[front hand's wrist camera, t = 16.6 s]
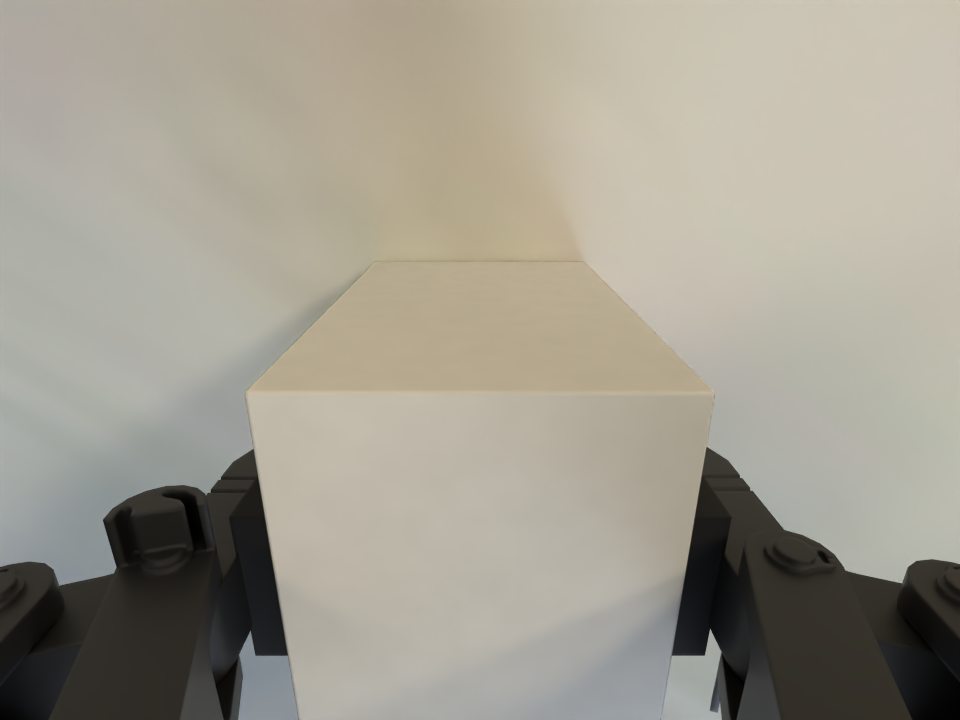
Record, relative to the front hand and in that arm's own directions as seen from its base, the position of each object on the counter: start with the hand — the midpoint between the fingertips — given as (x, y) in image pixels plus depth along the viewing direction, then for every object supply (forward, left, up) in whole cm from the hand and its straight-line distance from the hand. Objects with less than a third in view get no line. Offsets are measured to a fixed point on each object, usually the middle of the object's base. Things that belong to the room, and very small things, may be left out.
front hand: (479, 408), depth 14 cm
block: (0, 0, -2) cm, 2 cm away
